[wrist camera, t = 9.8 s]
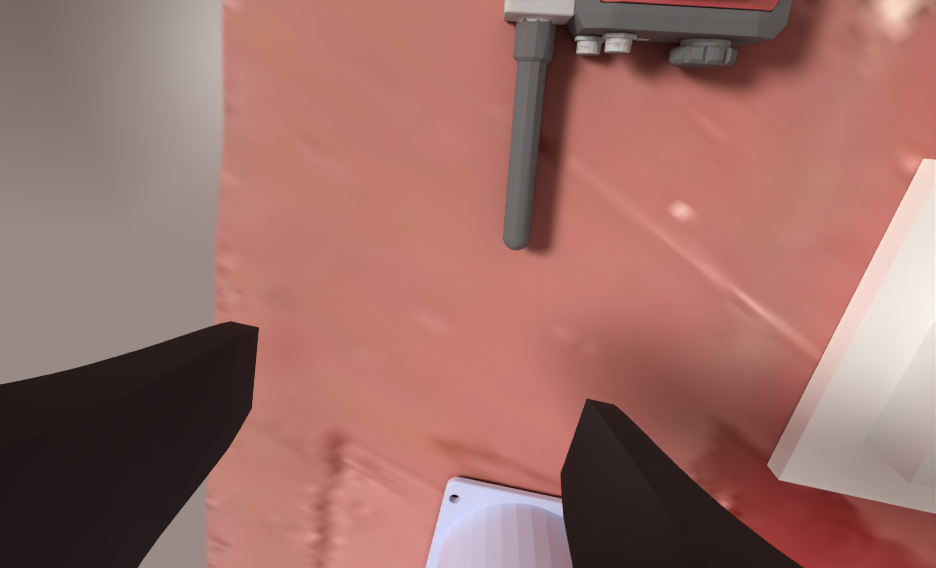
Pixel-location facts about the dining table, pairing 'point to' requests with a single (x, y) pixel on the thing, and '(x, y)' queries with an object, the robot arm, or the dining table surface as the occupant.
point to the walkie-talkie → (618, 24)
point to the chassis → (877, 375)
